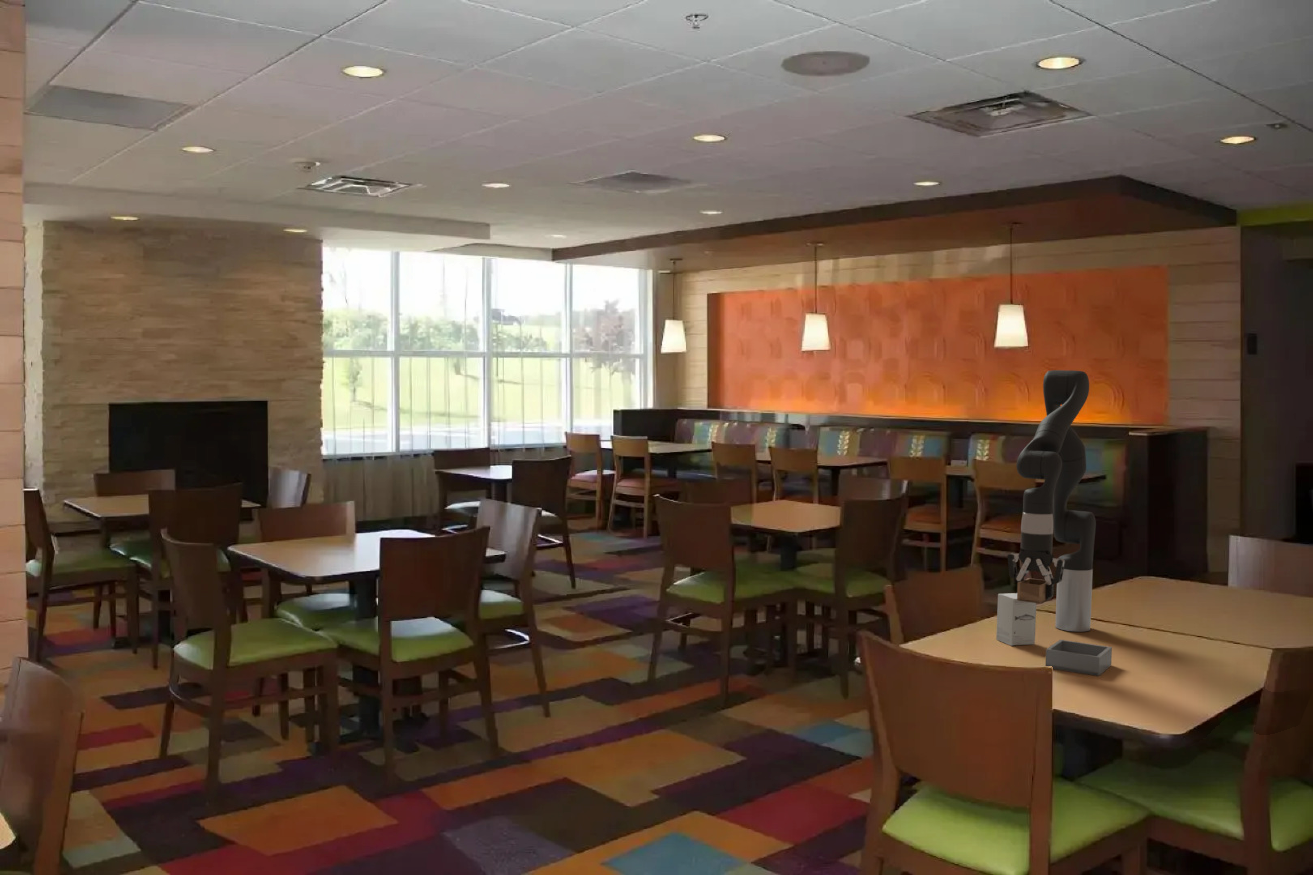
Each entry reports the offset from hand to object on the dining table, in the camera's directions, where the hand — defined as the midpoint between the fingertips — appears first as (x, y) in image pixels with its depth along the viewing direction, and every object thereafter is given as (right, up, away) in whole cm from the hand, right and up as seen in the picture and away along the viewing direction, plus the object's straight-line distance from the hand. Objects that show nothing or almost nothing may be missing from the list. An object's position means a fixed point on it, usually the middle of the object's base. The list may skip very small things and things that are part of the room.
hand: (1034, 597), depth 278 cm
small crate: (0, -1, 0) cm, 1 cm away
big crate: (+9, -16, -6) cm, 19 cm away
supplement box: (+1, -15, +18) cm, 23 cm away
